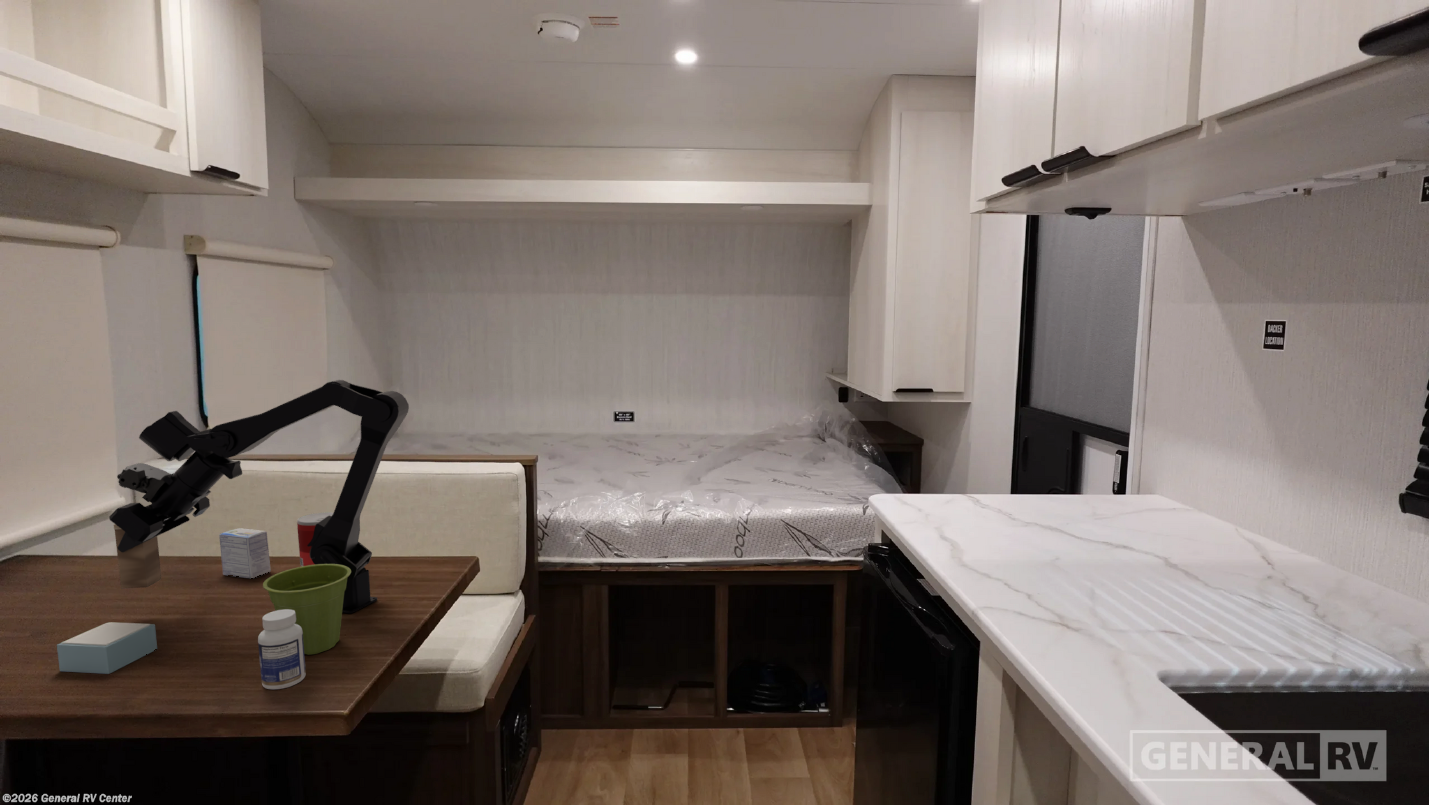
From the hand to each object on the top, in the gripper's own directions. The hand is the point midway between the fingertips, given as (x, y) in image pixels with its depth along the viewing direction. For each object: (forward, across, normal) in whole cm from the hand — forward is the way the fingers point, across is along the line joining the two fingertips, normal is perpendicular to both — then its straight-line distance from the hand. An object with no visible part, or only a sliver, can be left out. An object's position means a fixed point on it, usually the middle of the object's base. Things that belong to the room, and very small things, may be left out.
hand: (128, 546), depth 124 cm
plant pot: (-15, +16, +34) cm, 40 cm away
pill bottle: (-15, +28, +34) cm, 46 cm away
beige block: (+4, 0, +6) cm, 7 cm away
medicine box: (+4, -21, +15) cm, 26 cm away
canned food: (-7, -21, +25) cm, 33 cm away
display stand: (+5, +16, +13) cm, 22 cm away
